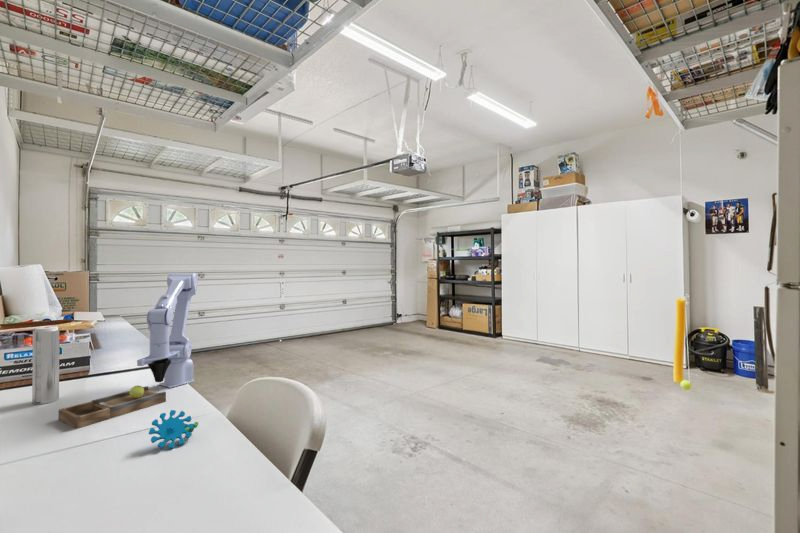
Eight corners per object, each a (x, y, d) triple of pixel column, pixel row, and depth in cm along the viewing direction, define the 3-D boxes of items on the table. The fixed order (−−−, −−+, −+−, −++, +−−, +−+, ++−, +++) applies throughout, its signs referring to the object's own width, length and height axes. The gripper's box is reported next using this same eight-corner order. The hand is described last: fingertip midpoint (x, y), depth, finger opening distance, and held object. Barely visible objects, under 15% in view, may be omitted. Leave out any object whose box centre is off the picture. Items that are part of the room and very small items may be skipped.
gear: (147, 449, 88) (151, 410, 94) (144, 460, 91) (147, 421, 97) (198, 442, 94) (199, 406, 100) (193, 452, 97) (194, 417, 103)
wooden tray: (146, 395, 129) (146, 386, 129) (165, 401, 123) (165, 391, 123) (58, 419, 108) (58, 409, 108) (76, 428, 102) (76, 417, 102)
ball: (140, 394, 123) (140, 383, 123) (146, 397, 121) (146, 385, 121) (126, 398, 120) (127, 386, 120) (133, 400, 118) (133, 388, 118)
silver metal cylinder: (27, 403, 121) (28, 328, 121) (52, 396, 127) (53, 325, 127) (38, 405, 118) (39, 329, 118) (63, 399, 124) (63, 326, 124)
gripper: (169, 338, 135) (169, 374, 135) (130, 346, 121) (130, 386, 121) (184, 339, 133) (183, 376, 133) (146, 347, 119) (145, 388, 119)
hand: (159, 381), depth 127 cm, fingers closed
